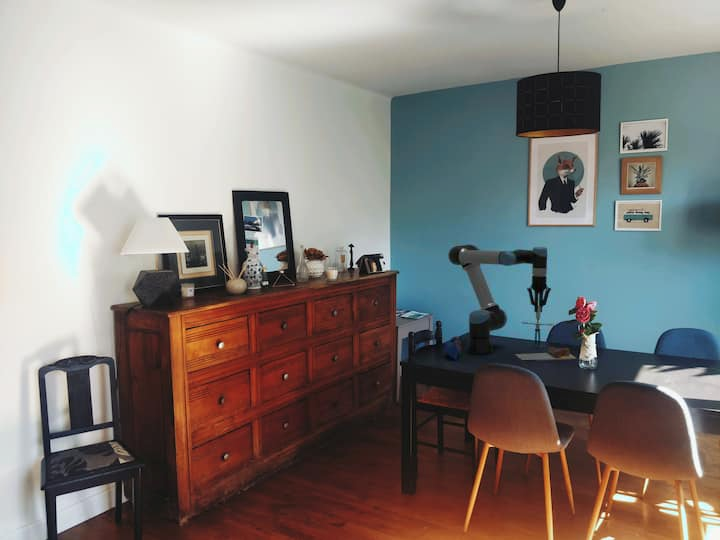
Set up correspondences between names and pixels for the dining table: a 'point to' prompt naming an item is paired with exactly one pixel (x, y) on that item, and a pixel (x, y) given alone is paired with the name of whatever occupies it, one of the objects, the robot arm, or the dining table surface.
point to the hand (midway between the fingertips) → (538, 317)
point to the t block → (558, 352)
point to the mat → (542, 357)
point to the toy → (453, 347)
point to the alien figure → (538, 332)
